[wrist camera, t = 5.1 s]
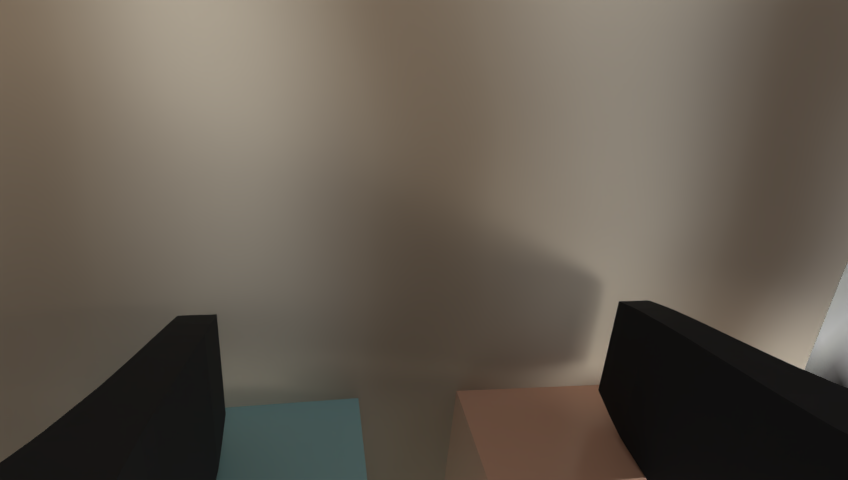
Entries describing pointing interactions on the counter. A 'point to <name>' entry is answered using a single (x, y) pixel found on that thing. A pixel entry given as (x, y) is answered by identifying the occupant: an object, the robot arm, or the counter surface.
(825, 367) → the counter surface
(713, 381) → the robot arm
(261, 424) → the pale aqua slab
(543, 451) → the terracotta tile
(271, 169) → the birch plate
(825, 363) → the counter surface
